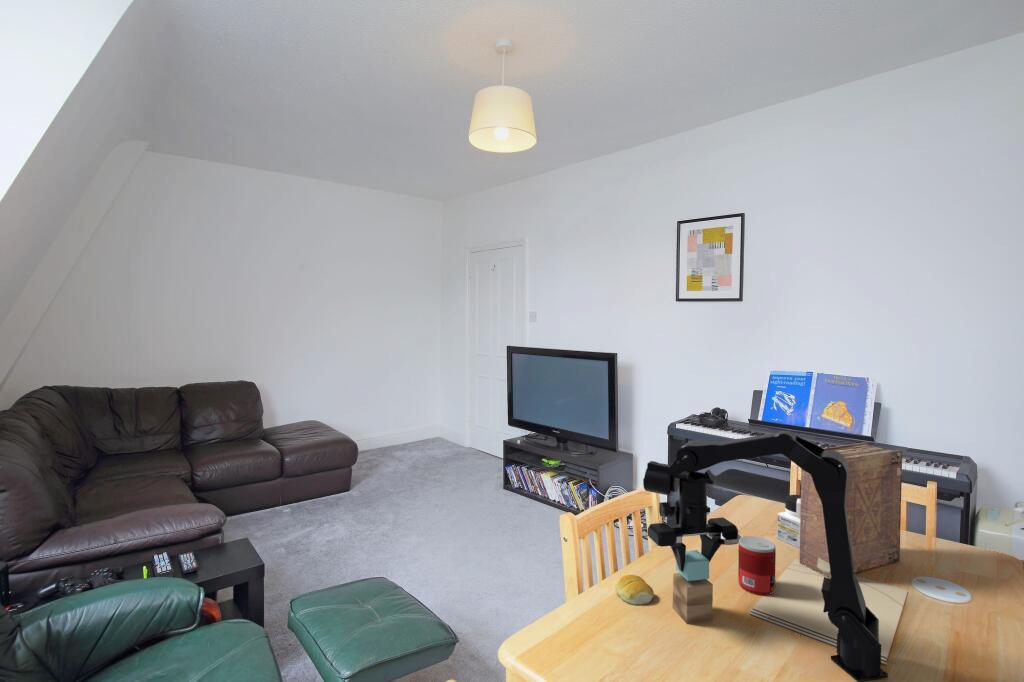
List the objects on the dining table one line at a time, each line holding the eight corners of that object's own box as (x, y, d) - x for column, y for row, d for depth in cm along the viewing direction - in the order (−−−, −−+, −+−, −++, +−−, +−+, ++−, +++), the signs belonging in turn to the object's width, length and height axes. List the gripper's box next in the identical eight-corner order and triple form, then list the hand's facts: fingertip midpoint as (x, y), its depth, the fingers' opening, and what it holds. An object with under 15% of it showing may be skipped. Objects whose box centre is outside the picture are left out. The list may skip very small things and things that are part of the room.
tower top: (712, 602, 110) (712, 584, 110) (686, 605, 109) (687, 587, 109) (697, 588, 116) (697, 570, 116) (673, 590, 115) (673, 573, 115)
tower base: (712, 621, 110) (712, 603, 110) (686, 624, 109) (686, 606, 109) (697, 605, 116) (697, 588, 116) (672, 608, 115) (672, 591, 115)
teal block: (709, 578, 110) (709, 560, 110) (687, 581, 109) (687, 562, 109) (696, 567, 115) (696, 550, 115) (676, 569, 114) (676, 552, 114)
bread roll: (640, 583, 126) (640, 567, 126) (658, 603, 117) (658, 586, 117) (609, 587, 124) (609, 571, 124) (625, 608, 115) (625, 590, 115)
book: (865, 547, 144) (868, 442, 142) (900, 561, 135) (903, 450, 134) (799, 563, 135) (801, 451, 133) (831, 580, 126) (834, 460, 125)
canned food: (779, 597, 119) (780, 551, 118) (742, 594, 120) (743, 548, 120) (769, 580, 126) (770, 537, 126) (735, 577, 128) (735, 534, 127)
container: (776, 538, 150) (777, 494, 149) (794, 533, 153) (795, 490, 153) (801, 549, 143) (801, 503, 142) (819, 543, 146) (820, 499, 146)
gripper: (710, 484, 121) (710, 549, 122) (637, 490, 118) (636, 556, 118) (740, 501, 110) (739, 572, 111) (659, 508, 107) (659, 581, 107)
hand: (692, 569), depth 112 cm, fingers closed on teal block, 5 cm apart
